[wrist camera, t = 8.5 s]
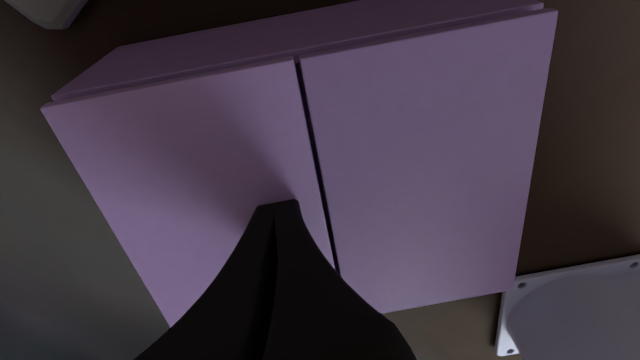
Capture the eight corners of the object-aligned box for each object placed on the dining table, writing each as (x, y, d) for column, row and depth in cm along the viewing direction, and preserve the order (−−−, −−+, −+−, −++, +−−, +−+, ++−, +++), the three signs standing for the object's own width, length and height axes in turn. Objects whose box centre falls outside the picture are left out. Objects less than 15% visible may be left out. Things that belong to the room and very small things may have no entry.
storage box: (205, 247, 21) (181, 350, 16) (117, 46, 15) (34, 107, 10) (456, 201, 21) (515, 290, 16) (465, -20, 15) (562, 6, 10)
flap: (184, 340, 16) (182, 349, 16) (45, 102, 11) (38, 108, 10) (343, 311, 16) (345, 319, 16) (293, 55, 10) (293, 59, 10)
